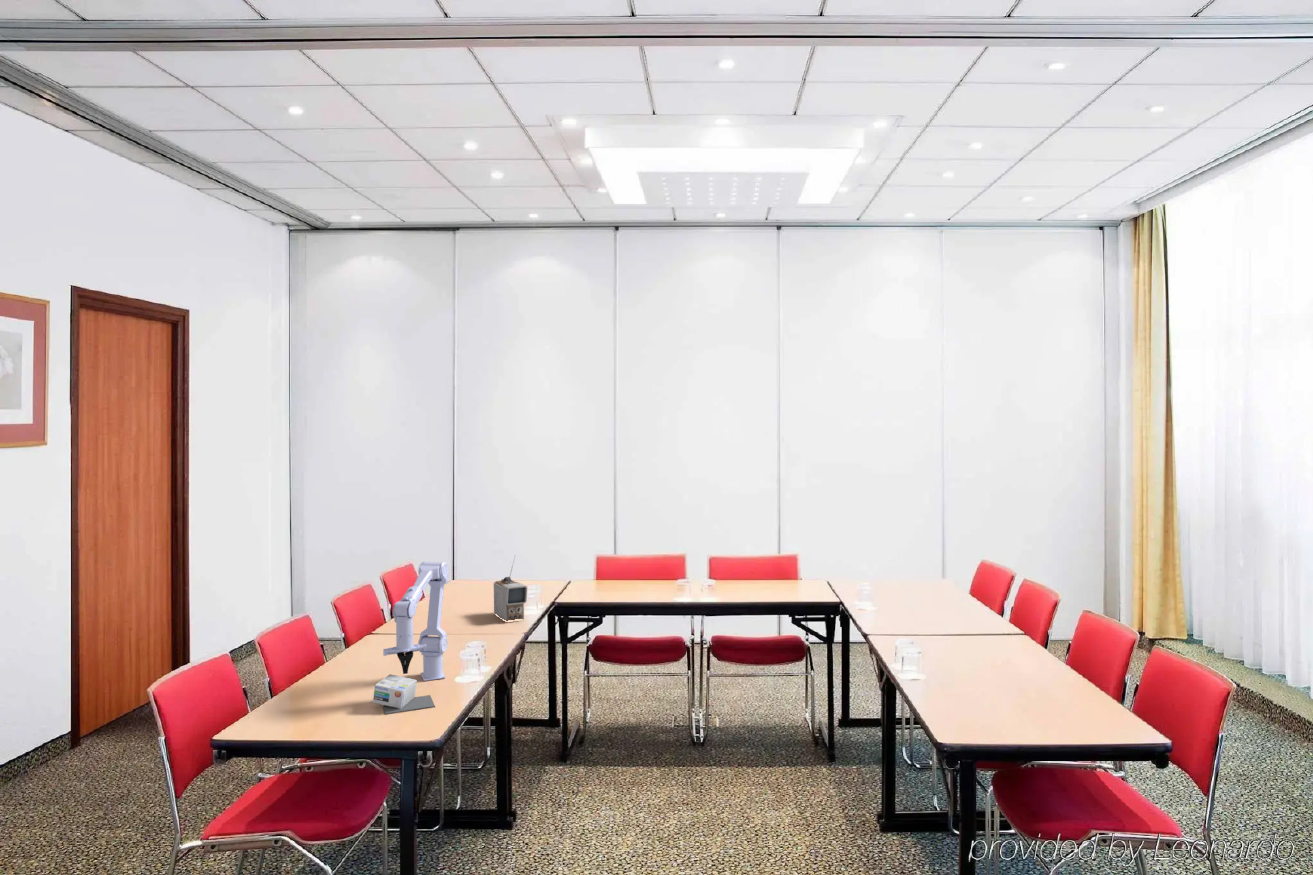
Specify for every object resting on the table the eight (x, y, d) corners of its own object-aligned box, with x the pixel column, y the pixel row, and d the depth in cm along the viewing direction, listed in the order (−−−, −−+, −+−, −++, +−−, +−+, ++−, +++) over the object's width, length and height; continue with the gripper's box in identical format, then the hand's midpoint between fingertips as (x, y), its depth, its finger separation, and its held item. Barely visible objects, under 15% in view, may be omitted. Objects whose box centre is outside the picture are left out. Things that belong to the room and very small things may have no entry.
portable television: (507, 624, 374) (506, 563, 374) (492, 614, 395) (491, 556, 395) (530, 621, 380) (530, 561, 379) (515, 611, 401) (514, 554, 400)
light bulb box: (387, 691, 273) (371, 703, 262) (389, 673, 273) (373, 684, 262) (415, 697, 272) (400, 710, 261) (417, 679, 271) (403, 690, 260)
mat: (382, 703, 268) (382, 701, 268) (430, 696, 275) (430, 695, 275) (385, 714, 257) (385, 713, 257) (434, 707, 264) (434, 706, 264)
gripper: (384, 640, 268) (384, 679, 268) (427, 635, 274) (427, 673, 274) (382, 635, 274) (383, 673, 274) (424, 630, 280) (425, 667, 280)
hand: (405, 673), depth 274 cm, fingers closed
